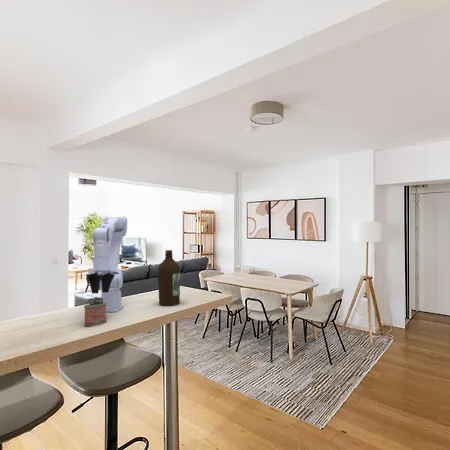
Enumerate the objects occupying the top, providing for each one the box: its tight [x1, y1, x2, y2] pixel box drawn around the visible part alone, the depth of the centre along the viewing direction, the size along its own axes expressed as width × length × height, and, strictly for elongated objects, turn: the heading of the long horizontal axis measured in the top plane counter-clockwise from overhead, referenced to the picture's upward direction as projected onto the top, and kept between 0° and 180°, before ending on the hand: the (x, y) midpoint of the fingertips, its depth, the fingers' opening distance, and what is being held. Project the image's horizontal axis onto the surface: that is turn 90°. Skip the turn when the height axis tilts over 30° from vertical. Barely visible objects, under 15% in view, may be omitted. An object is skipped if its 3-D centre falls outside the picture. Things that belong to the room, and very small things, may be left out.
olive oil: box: [156, 249, 181, 307], centre depth 149 cm, size 11×11×25 cm
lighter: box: [83, 296, 107, 328], centre depth 118 cm, size 8×3×10 cm, turn 134°
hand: (100, 293), depth 123 cm, fingers open, 7 cm apart
